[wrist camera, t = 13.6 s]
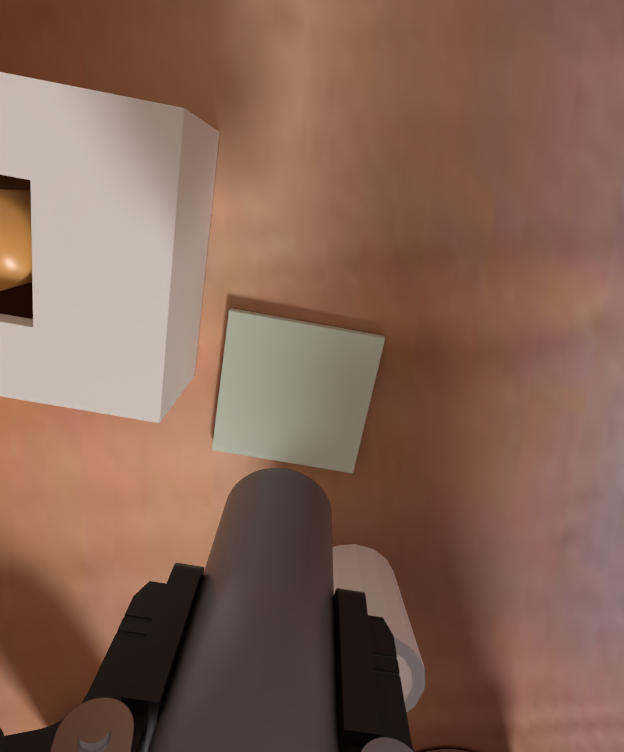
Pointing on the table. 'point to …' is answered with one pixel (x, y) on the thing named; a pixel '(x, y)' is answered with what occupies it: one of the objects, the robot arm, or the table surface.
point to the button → (15, 238)
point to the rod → (260, 629)
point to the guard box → (107, 247)
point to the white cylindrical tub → (382, 608)
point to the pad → (295, 390)
